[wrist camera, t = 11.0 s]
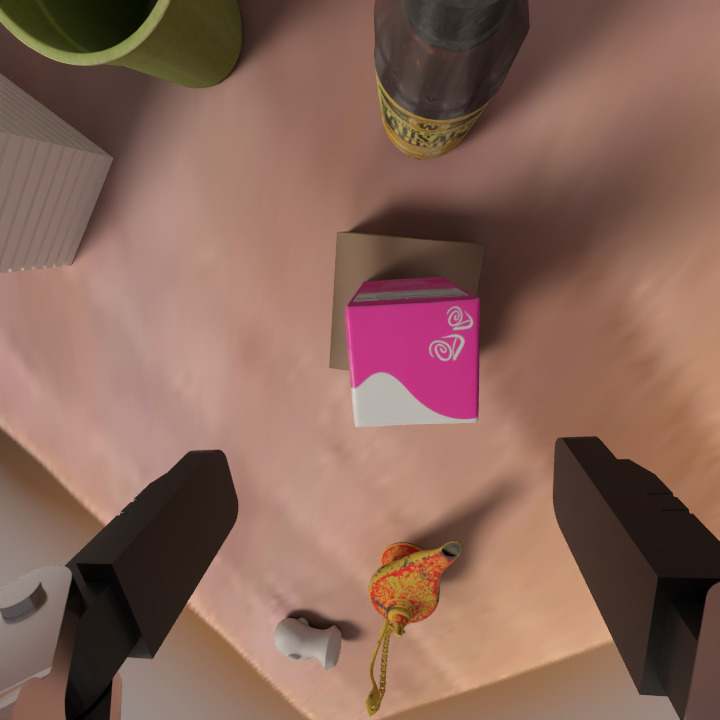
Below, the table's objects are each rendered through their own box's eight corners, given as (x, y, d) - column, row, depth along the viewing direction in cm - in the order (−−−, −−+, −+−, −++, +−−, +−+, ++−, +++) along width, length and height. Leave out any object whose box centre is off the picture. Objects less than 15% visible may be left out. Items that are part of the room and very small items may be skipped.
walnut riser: (474, 242, 30) (485, 245, 25) (453, 362, 33) (460, 384, 28) (348, 231, 31) (337, 232, 26) (340, 348, 34) (329, 368, 29)
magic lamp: (482, 502, 37) (509, 609, 27) (404, 616, 43) (401, 737, 33) (418, 474, 37) (420, 570, 27) (349, 592, 43) (329, 706, 33)
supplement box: (447, 355, 28) (479, 428, 17) (366, 358, 28) (347, 431, 17) (446, 274, 26) (483, 297, 15) (360, 279, 27) (335, 305, 16)
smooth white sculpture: (281, 619, 48) (281, 604, 45) (342, 638, 48) (346, 623, 44) (268, 661, 45) (267, 647, 42) (333, 681, 44) (337, 669, 41)
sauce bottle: (376, 155, 28) (304, 16, 10) (393, 54, 26) (342, -376, 7) (463, 170, 28) (565, 55, 9) (488, 69, 26) (685, -348, 7)
